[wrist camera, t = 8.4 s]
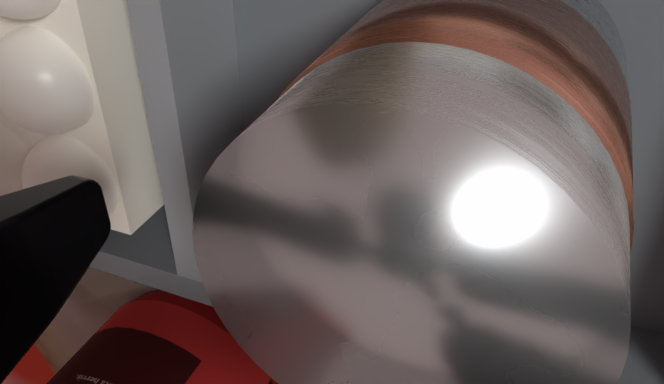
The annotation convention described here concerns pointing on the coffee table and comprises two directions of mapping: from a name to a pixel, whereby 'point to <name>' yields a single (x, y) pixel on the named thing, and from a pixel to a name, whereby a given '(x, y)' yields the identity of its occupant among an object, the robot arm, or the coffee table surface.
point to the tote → (279, 72)
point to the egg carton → (76, 104)
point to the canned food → (162, 347)
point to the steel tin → (434, 203)
